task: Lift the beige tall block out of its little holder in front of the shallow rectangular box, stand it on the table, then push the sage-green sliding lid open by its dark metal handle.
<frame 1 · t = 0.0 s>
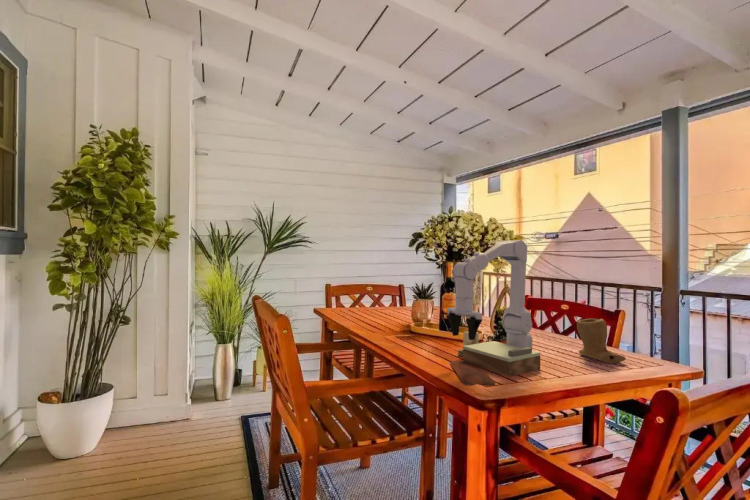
hand: (463, 337, 138), 10 cm above the table, tool pointing down, fingers open, 7 cm apart
lid: (500, 348, 141), point 6 cm above the table, slide at 0.0 cm
shallow rectangular box: (500, 365, 141), on the table
brown suede boot: (597, 359, 151), on the table
beige tall block: (470, 356, 153), resting in shallow rectangular box
wooden tablet: (469, 374, 133), on the table
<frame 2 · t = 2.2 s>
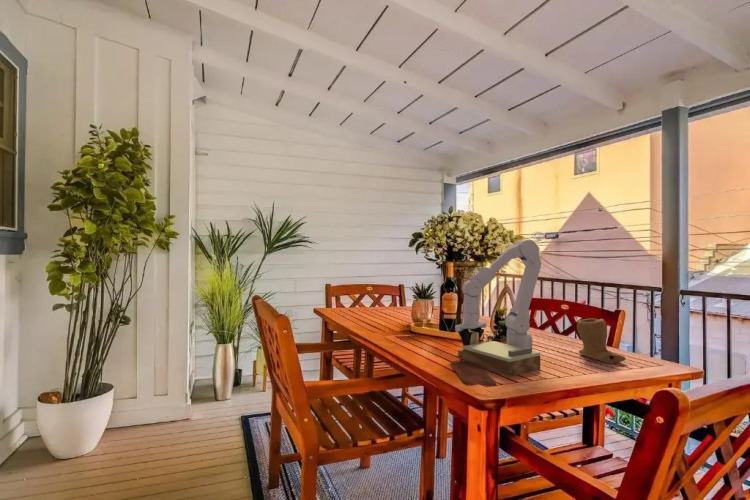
hand: (470, 348, 153), 3 cm above the table, tool pointing down, fingers closed on beige tall block, 4 cm apart
beige tall block: (470, 356, 153), resting in shallow rectangular box, touching gripper
everything else where it was.
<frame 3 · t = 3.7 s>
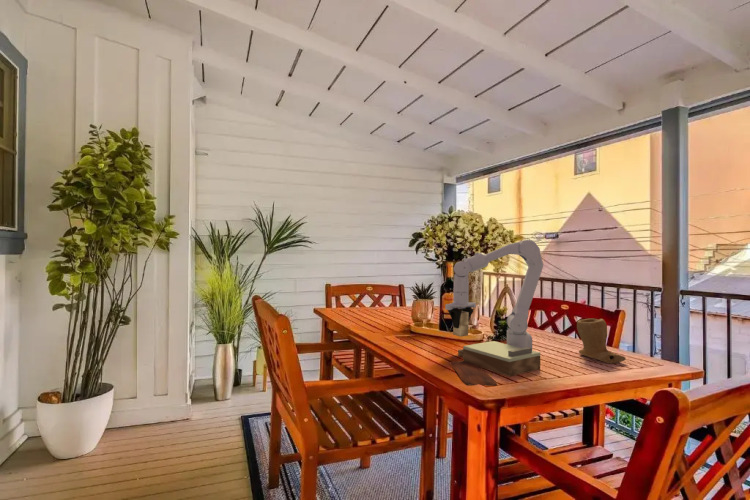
hand: (460, 327, 157), 10 cm above the table, tool pointing down, fingers closed on beige tall block, 4 cm apart
beige tall block: (460, 335, 157), point 7 cm above the table, touching gripper
everything else where it was.
when the fingers open (4 cm above the table, at t = 5.6 s): beige tall block stays where it is, on the table.
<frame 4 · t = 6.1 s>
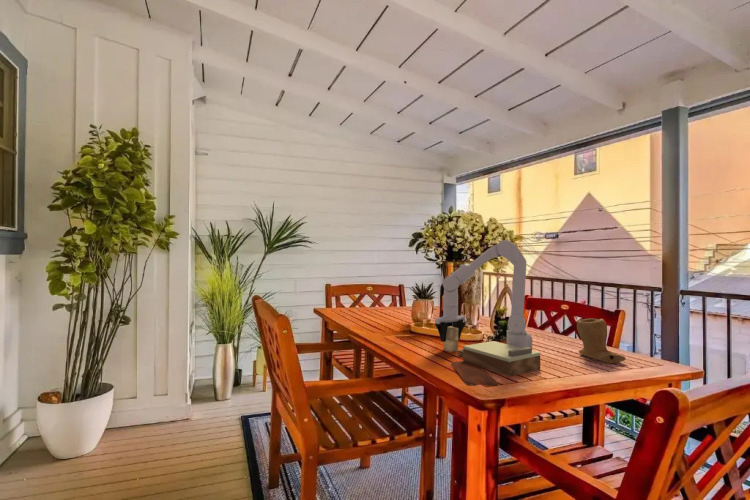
hand: (450, 340, 162), 4 cm above the table, tool pointing down, fingers open, 7 cm apart
beige tall block: (450, 350, 162), on the table
everything else where it was.
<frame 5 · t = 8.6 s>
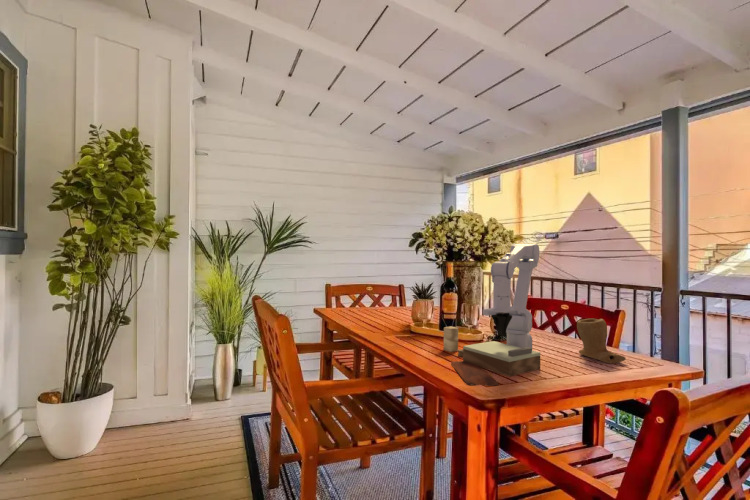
hand: (501, 335, 141), 10 cm above the table, tool pointing down, fingers closed
nothing on the table moved.
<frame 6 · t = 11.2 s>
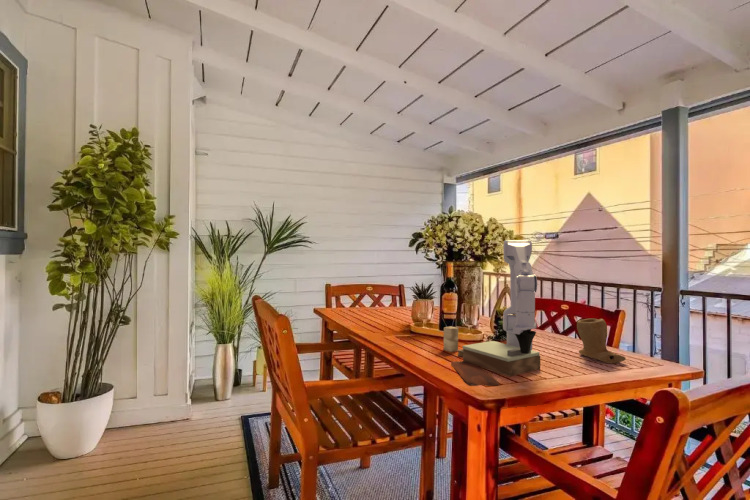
hand: (524, 353, 133), 6 cm above the table, tool pointing down, fingers closed
lid: (499, 348, 141), point 6 cm above the table, slide at 0.4 cm, touching gripper
everything else where it was.
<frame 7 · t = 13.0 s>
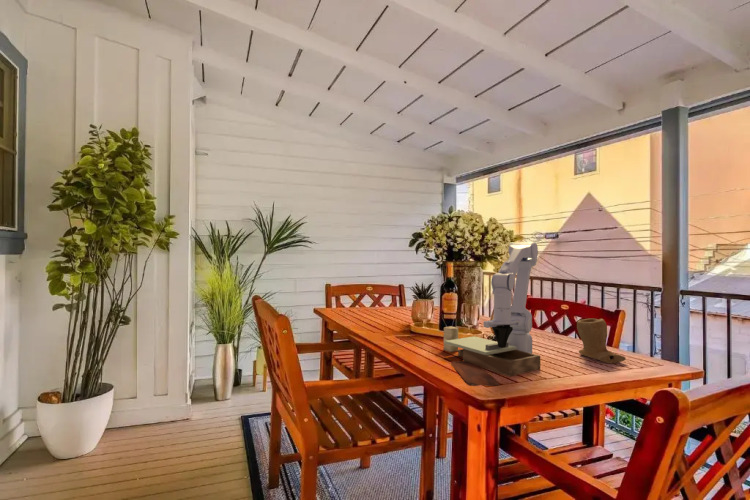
hand: (501, 347, 141), 6 cm above the table, tool pointing down, fingers closed
lid: (479, 342, 149), point 6 cm above the table, slide at 9.6 cm, touching gripper
everything else where it was.
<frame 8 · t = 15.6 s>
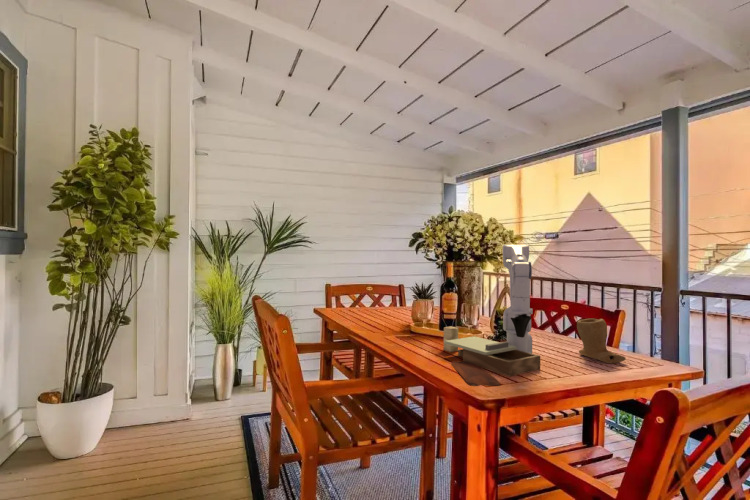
hand: (520, 336, 139), 10 cm above the table, tool pointing down, fingers closed
lid: (479, 342, 149), point 6 cm above the table, slide at 9.6 cm
everything else where it was.
at the end: lid slide at 9.6 cm; beige tall block inside the target area (0.3 cm from its centre), on the table; beige tall block tilted 0° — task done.
